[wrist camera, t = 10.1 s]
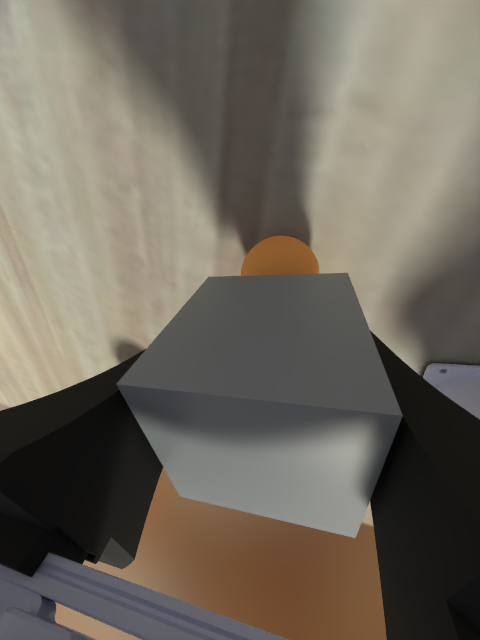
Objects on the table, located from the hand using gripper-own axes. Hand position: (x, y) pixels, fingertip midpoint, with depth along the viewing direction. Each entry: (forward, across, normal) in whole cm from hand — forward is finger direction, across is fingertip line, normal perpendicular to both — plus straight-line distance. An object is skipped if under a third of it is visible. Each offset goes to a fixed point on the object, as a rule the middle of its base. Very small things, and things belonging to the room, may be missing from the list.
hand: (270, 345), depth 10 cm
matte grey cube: (+2, 0, +1) cm, 2 cm away
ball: (+7, 0, 0) cm, 7 cm away
